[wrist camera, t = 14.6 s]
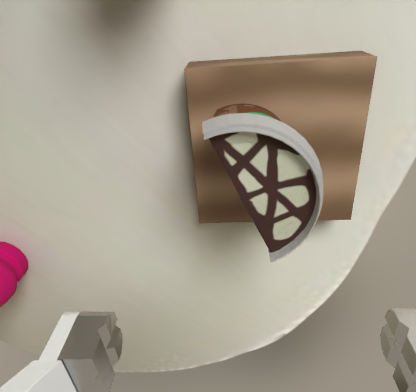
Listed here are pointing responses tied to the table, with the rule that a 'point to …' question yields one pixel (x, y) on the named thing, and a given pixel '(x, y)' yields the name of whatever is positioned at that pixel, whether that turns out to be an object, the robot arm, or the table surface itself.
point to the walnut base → (284, 120)
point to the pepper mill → (10, 270)
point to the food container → (269, 173)
